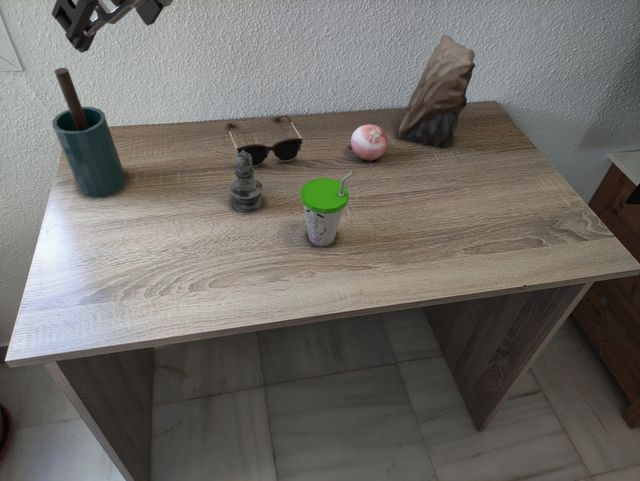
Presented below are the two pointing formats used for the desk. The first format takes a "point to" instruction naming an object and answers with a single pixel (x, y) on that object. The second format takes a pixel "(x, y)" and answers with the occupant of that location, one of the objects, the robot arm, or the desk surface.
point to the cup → (324, 208)
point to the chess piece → (246, 185)
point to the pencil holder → (90, 153)
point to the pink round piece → (368, 142)
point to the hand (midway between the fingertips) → (111, 29)
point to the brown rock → (439, 95)
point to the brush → (71, 98)
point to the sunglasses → (272, 148)
